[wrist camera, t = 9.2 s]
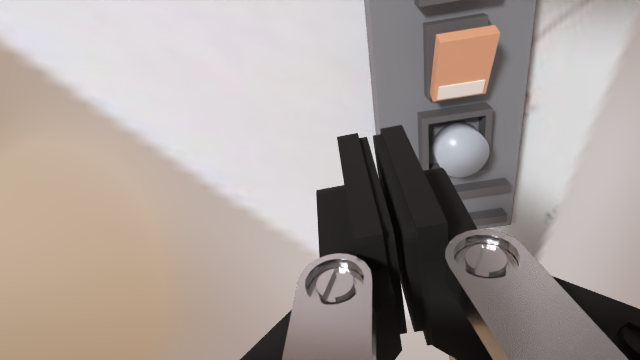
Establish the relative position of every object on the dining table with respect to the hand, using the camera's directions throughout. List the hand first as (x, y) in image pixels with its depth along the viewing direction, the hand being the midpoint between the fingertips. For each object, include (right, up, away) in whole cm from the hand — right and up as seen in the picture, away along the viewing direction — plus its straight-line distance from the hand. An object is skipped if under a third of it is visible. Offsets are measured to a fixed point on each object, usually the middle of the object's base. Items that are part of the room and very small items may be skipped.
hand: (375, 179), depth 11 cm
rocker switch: (+9, +9, +19) cm, 23 cm away
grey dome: (+10, +3, +23) cm, 25 cm away
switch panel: (+9, +8, +25) cm, 28 cm away
